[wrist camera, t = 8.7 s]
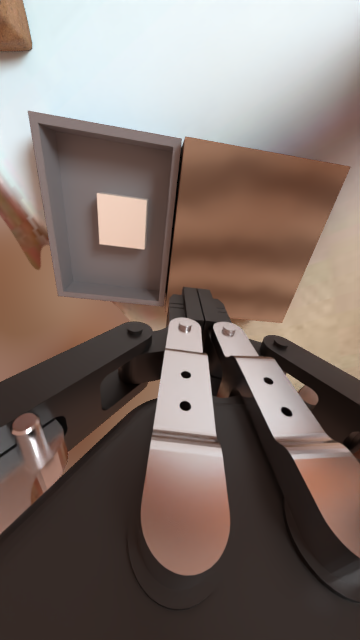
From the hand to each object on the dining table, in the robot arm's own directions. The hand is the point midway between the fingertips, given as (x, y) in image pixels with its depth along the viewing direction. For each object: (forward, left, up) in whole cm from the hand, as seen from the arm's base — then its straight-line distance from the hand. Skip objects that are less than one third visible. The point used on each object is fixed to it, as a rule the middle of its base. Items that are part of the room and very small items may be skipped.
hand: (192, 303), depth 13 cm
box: (0, -9, -23) cm, 24 cm away
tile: (-1, -8, -20) cm, 21 cm away
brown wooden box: (0, +8, -23) cm, 24 cm away
